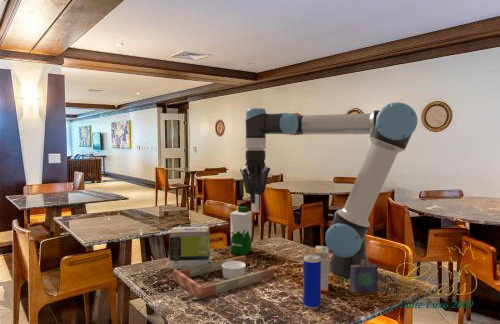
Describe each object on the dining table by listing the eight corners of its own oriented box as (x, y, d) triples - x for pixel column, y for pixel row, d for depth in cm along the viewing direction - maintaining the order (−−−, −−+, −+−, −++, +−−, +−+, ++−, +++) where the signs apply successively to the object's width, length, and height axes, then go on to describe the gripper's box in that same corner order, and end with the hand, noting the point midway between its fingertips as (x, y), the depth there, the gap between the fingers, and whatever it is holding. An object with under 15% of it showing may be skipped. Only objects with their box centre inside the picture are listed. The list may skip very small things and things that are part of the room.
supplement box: (328, 292, 119) (329, 253, 118) (313, 291, 120) (314, 252, 119) (328, 282, 127) (329, 245, 126) (314, 281, 128) (315, 245, 127)
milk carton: (253, 250, 164) (253, 206, 163) (245, 256, 156) (245, 210, 155) (236, 248, 168) (236, 205, 167) (227, 253, 159) (227, 208, 158)
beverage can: (307, 300, 113) (308, 252, 112) (323, 304, 110) (323, 255, 109) (300, 306, 108) (300, 257, 108) (316, 311, 105) (316, 260, 105)
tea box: (210, 260, 150) (210, 225, 149) (208, 269, 140) (208, 231, 139) (173, 261, 150) (173, 225, 149) (169, 269, 140) (168, 231, 139)
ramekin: (222, 272, 137) (221, 260, 137) (245, 271, 138) (245, 260, 138) (221, 281, 128) (221, 269, 128) (246, 280, 129) (246, 268, 129)
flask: (351, 294, 117) (351, 261, 117) (347, 290, 120) (348, 258, 120) (378, 293, 118) (379, 260, 118) (374, 289, 121) (375, 258, 121)
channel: (274, 276, 132) (274, 267, 132) (198, 298, 114) (198, 287, 114) (244, 262, 148) (244, 253, 147) (173, 279, 129) (173, 269, 129)
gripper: (262, 149, 143) (262, 208, 145) (235, 149, 136) (235, 211, 137) (275, 149, 137) (274, 211, 139) (247, 150, 130) (247, 215, 131)
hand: (255, 211), depth 138 cm, fingers closed
